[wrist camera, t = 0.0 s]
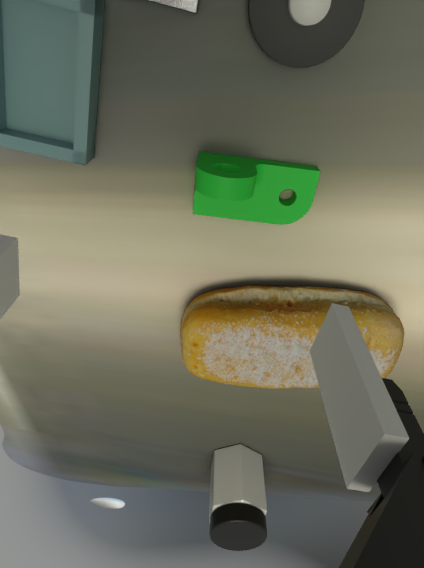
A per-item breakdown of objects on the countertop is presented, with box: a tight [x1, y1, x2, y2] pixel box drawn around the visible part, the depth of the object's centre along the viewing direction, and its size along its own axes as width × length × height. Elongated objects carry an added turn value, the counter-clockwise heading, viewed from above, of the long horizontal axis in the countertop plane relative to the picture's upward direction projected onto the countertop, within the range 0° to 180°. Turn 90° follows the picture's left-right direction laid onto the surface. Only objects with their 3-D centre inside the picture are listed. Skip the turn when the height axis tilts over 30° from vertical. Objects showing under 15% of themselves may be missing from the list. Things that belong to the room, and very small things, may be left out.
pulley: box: [248, 0, 365, 68], centre depth 32 cm, size 9×9×4 cm
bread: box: [180, 286, 404, 389], centre depth 48 cm, size 13×26×8 cm, turn 91°
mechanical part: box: [193, 151, 320, 224], centre depth 39 cm, size 12×6×8 cm, turn 83°
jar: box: [209, 444, 267, 551], centre depth 61 cm, size 9×8×12 cm
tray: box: [0, 0, 105, 166], centre depth 36 cm, size 13×9×3 cm
